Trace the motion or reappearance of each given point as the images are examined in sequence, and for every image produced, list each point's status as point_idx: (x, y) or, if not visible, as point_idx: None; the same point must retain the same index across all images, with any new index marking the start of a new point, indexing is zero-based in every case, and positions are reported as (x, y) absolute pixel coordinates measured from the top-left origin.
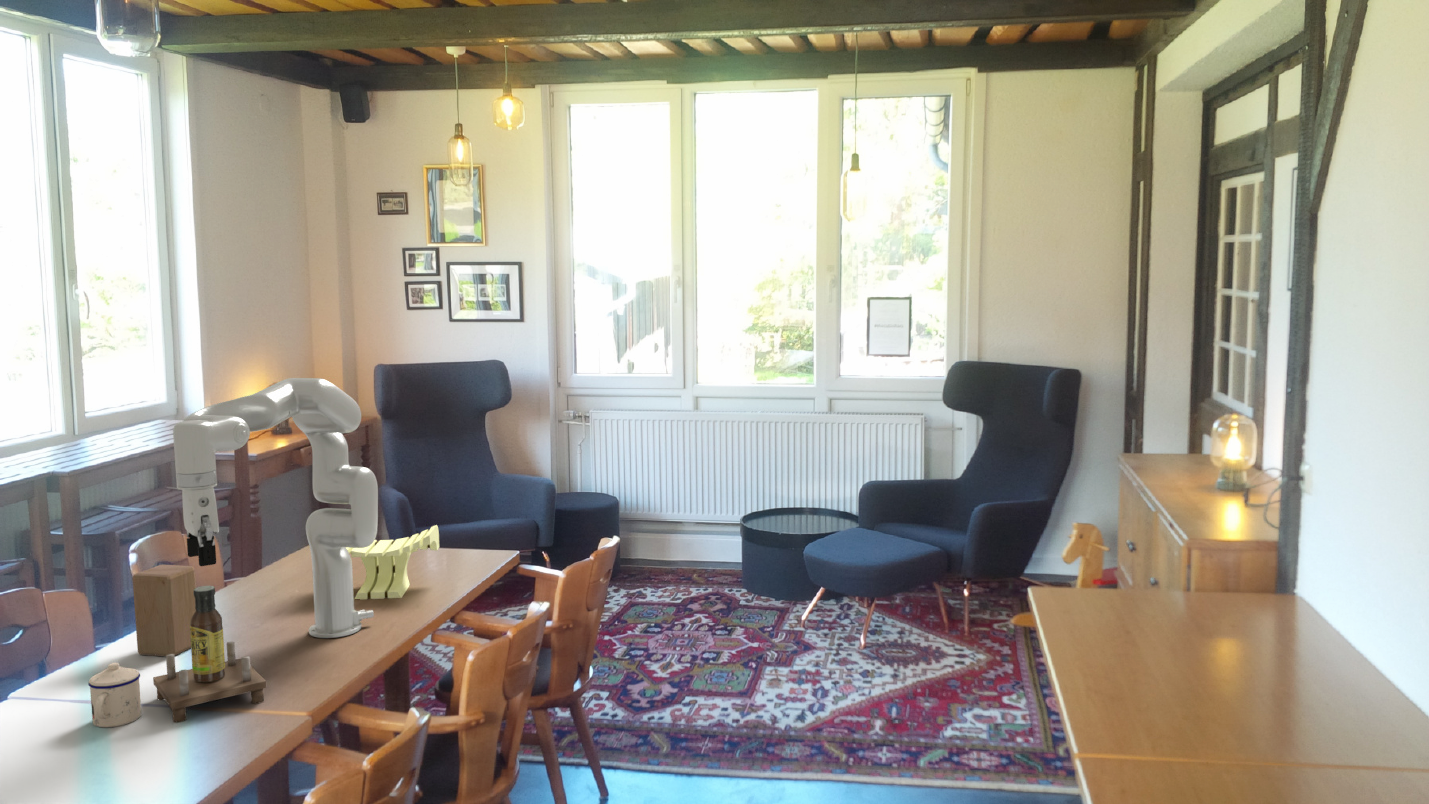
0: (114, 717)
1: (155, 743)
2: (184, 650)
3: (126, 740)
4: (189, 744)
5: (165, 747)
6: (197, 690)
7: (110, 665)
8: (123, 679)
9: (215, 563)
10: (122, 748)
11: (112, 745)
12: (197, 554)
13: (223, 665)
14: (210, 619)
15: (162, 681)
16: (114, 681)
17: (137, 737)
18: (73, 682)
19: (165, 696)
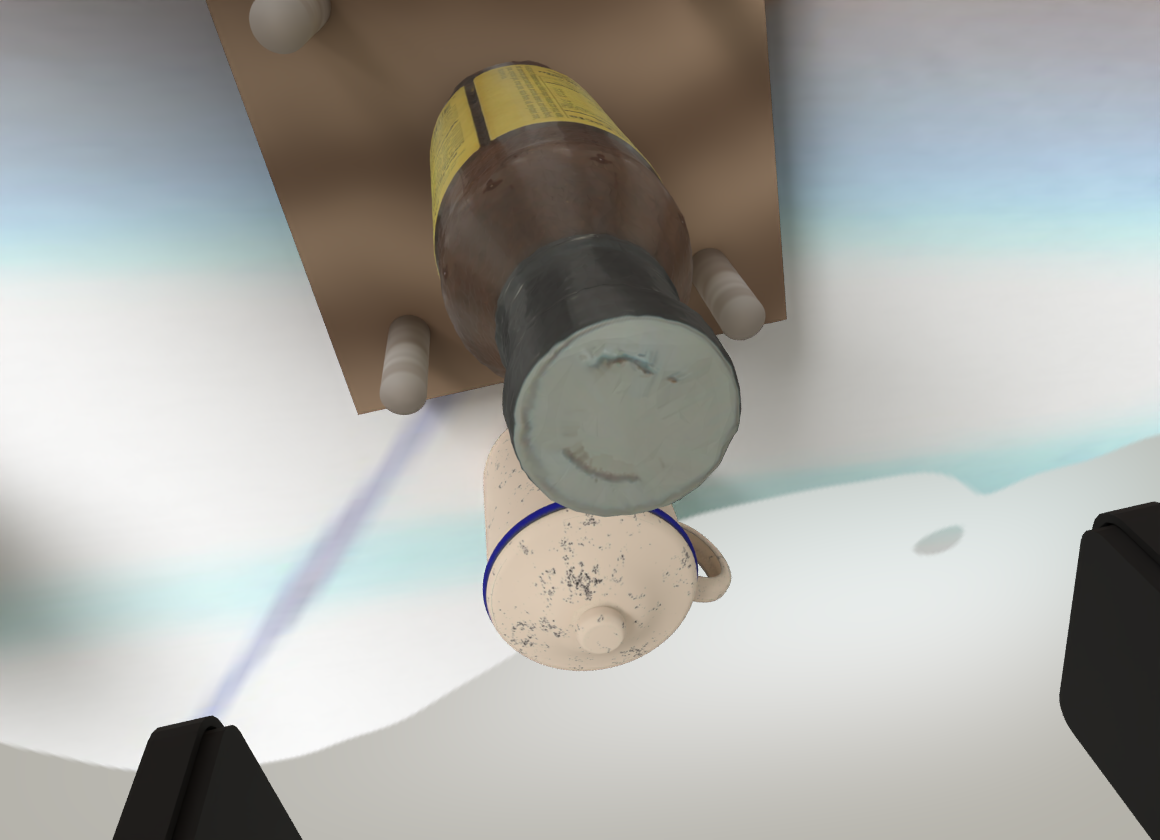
0: None
1: (914, 332)
2: None
3: (813, 426)
4: (1016, 213)
5: (979, 297)
6: (681, 209)
7: (618, 646)
8: (682, 558)
9: (1147, 507)
10: (882, 432)
11: (830, 463)
12: (271, 812)
13: (567, 78)
14: (686, 251)
15: (448, 371)
16: (690, 587)
17: (809, 394)
18: (33, 658)
19: None
